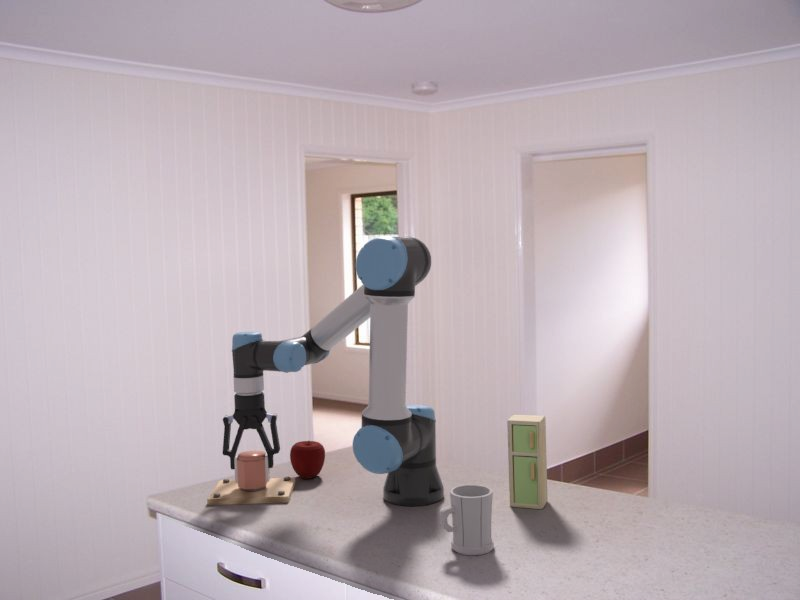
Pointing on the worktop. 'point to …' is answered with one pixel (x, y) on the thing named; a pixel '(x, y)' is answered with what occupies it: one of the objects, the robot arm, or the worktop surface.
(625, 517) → the worktop surface
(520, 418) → the toy refrigerator
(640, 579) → the worktop surface
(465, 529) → the cup
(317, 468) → the apple
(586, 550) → the worktop surface
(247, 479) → the cap
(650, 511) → the worktop surface
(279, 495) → the stud plate
